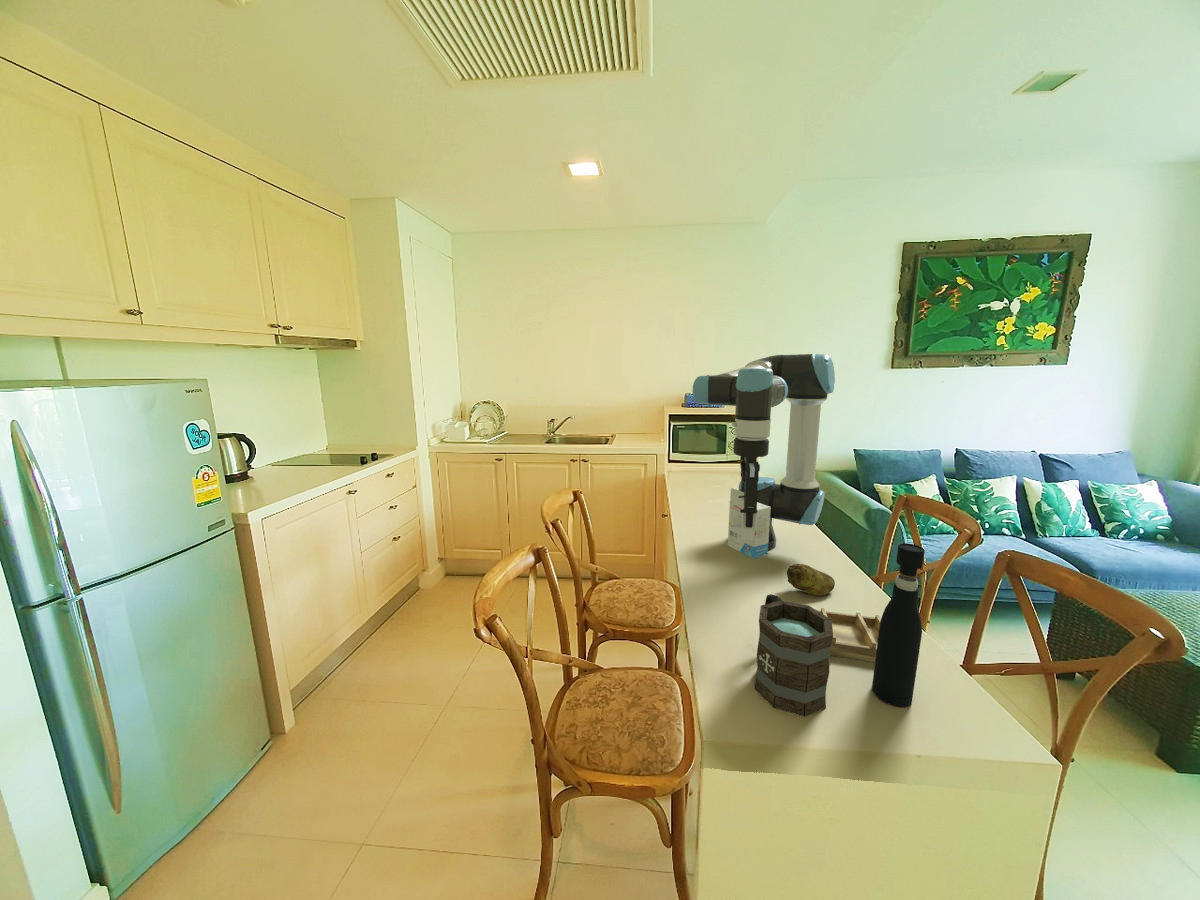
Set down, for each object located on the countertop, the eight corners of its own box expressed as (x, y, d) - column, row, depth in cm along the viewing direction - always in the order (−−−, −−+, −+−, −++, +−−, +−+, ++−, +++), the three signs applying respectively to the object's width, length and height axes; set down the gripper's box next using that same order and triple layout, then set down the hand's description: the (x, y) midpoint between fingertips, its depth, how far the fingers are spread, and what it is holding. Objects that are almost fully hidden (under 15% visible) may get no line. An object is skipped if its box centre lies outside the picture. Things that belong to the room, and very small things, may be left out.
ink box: (768, 554, 101) (773, 493, 98) (753, 559, 99) (757, 497, 96) (741, 541, 108) (744, 484, 105) (726, 545, 106) (729, 487, 103)
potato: (839, 603, 115) (842, 575, 113) (787, 597, 118) (789, 569, 116) (831, 587, 122) (834, 561, 121) (782, 582, 126) (784, 556, 124)
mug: (842, 716, 78) (850, 642, 75) (766, 716, 78) (771, 641, 75) (796, 646, 97) (801, 585, 94) (735, 646, 98) (739, 585, 95)
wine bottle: (864, 683, 86) (881, 541, 80) (894, 681, 86) (914, 539, 81) (888, 708, 80) (908, 556, 74) (920, 706, 80) (943, 554, 74)
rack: (785, 617, 108) (786, 602, 108) (876, 629, 103) (878, 614, 102) (793, 649, 96) (794, 633, 95) (896, 665, 91) (899, 648, 90)
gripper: (732, 429, 110) (728, 514, 114) (736, 446, 89) (731, 548, 93) (764, 430, 108) (758, 516, 112) (775, 447, 87) (768, 552, 91)
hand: (746, 531), depth 103 cm, fingers closed on ink box, 9 cm apart
